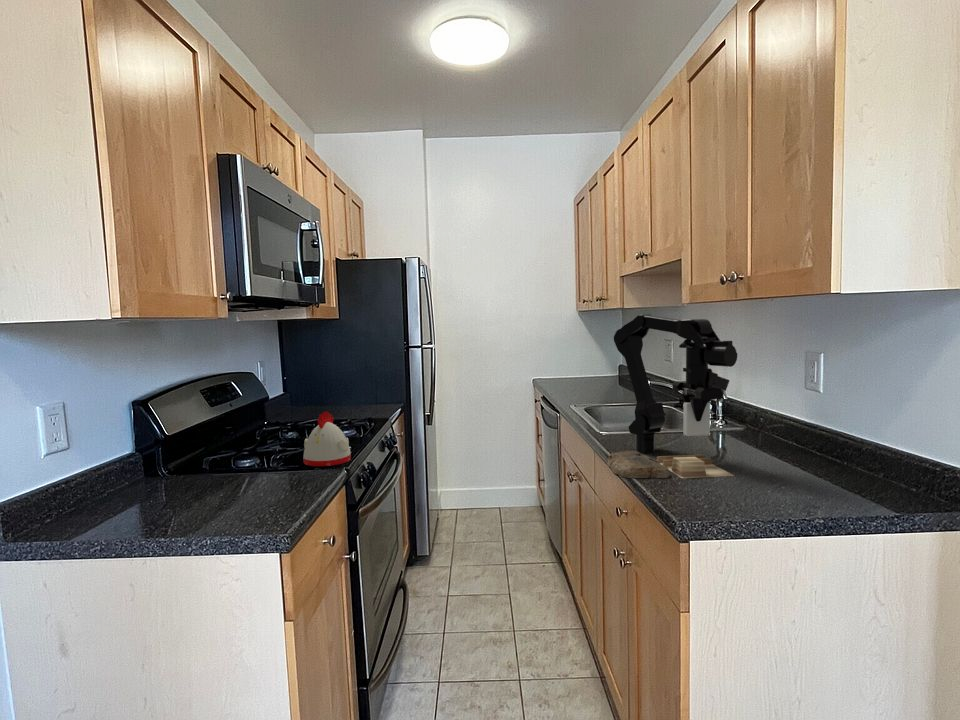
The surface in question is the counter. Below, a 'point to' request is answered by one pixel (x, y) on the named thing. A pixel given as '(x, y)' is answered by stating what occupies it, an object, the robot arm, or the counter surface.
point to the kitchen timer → (326, 444)
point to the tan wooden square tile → (689, 473)
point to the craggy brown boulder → (636, 465)
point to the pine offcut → (688, 461)
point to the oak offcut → (688, 468)
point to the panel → (693, 426)
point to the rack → (709, 467)
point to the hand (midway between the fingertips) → (696, 420)
